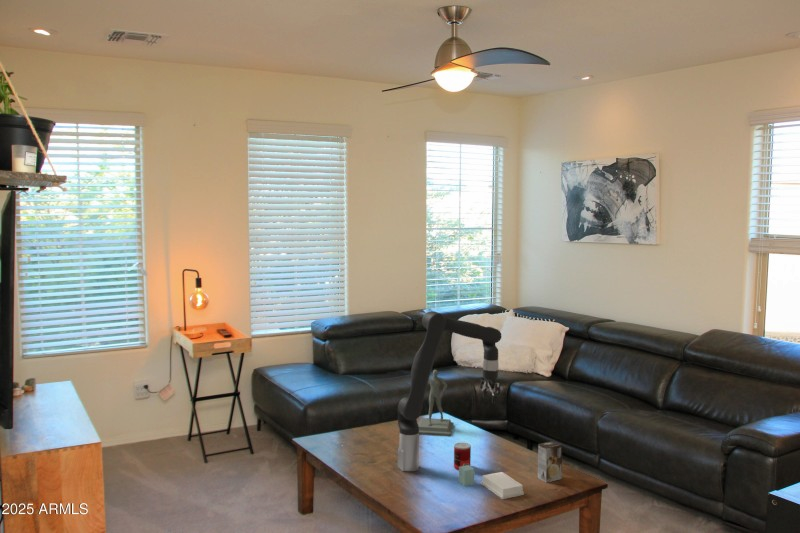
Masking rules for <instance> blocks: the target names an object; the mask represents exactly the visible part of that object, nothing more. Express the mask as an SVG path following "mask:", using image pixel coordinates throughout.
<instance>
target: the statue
mask: <svg viewBox="0 0 800 533" xmlns="http://www.w3.org/2000/svg"><path fill="white" fill-rule="evenodd" d="M438 373H439V372H438V370H437V369H434V370H433V371H432V376H430V377H429V380H428V384H429V386H430V390H429V396H428V406H429V409H428V418H427V417H422V418H421V420H419V421H418V422H417V423H418V426H419V436H420V435H422V436H436V437H437V436H438V437H440V436H441V437H451V436H452V433H453V429H454V425H455V423H454V422H453V421H451V419H447V418H444V415H443V407H442V398H443V396H444V393H445V392H446V390H447V387H448V384H447V382H446V381H445V380H444V378H442V377H438ZM441 385H442V386H443V388H442V391H441V392H440V386H441ZM434 405H436V407H437V410H438V411H439V415H440V418H432V415H433V407H434Z"/></svg>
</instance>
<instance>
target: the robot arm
mask: <svg viewBox="0 0 800 533" xmlns="http://www.w3.org/2000/svg"><path fill="white" fill-rule="evenodd" d="M421 322H422V325H423V327H424V328H425V329H426V332H425V337H424V340H423V342H422V344H421V346H420V347H419V349H418V350H417V352H416V353H415V356H414V358H413V363H412V365H411V368H410V370H411V371H410V391H409V394H408V396H405V397H403V398H401V399H400V400H399V403H398V405H397V424H398V429H399V432H398V433H399V434H398V435H399V438H398V439H399V445H398V447H397V468H398V469H399V470H401V471H402V472H414V471H417V470H419V468H420V434H419V426H418V423H419V422H418V421H417V419H418V418H419V417H420V416H421V414H422V411H423V405H424V399H425V394H426V390H427V387H428V384H429V382H428V380H429V377H431V374H432V369H433V366H434V362H435V359H436V356H437V351H438V348H439V344H440V341H441V339H442V336H443V334H444V331H446V332H451V333H452V334H456V335H460V336H462V337H467V338H469V339H470V338H471V339H476V340H481V341H482V347H483V360H482V361H483V362H482V376H481V377H480V381H479V384H480V385H479V389H481V391H482V399H483V400H486V399H488V390H489V391H490V392H491V395H492V396H491V399H492V400H491V403H492V404H493V405H494V404H497V403H498V396H500V395H501V383H500V382H497V379H499V348H498V347H497V346H496V343H499V342H500V341H501V340H502V333H501V331H500V330H499V329H498V328H495V327H492V326H483V325H481V324H478V323H475V322H469V321H466V320H465V321H464V320H459V319H456V318H455V319H454V318H451V317H447V316H444V315H443V314H442V313H440V312H438V311H434V310H433V311H428V312H426V313H424V314H423V316H422V319H421Z"/></svg>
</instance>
